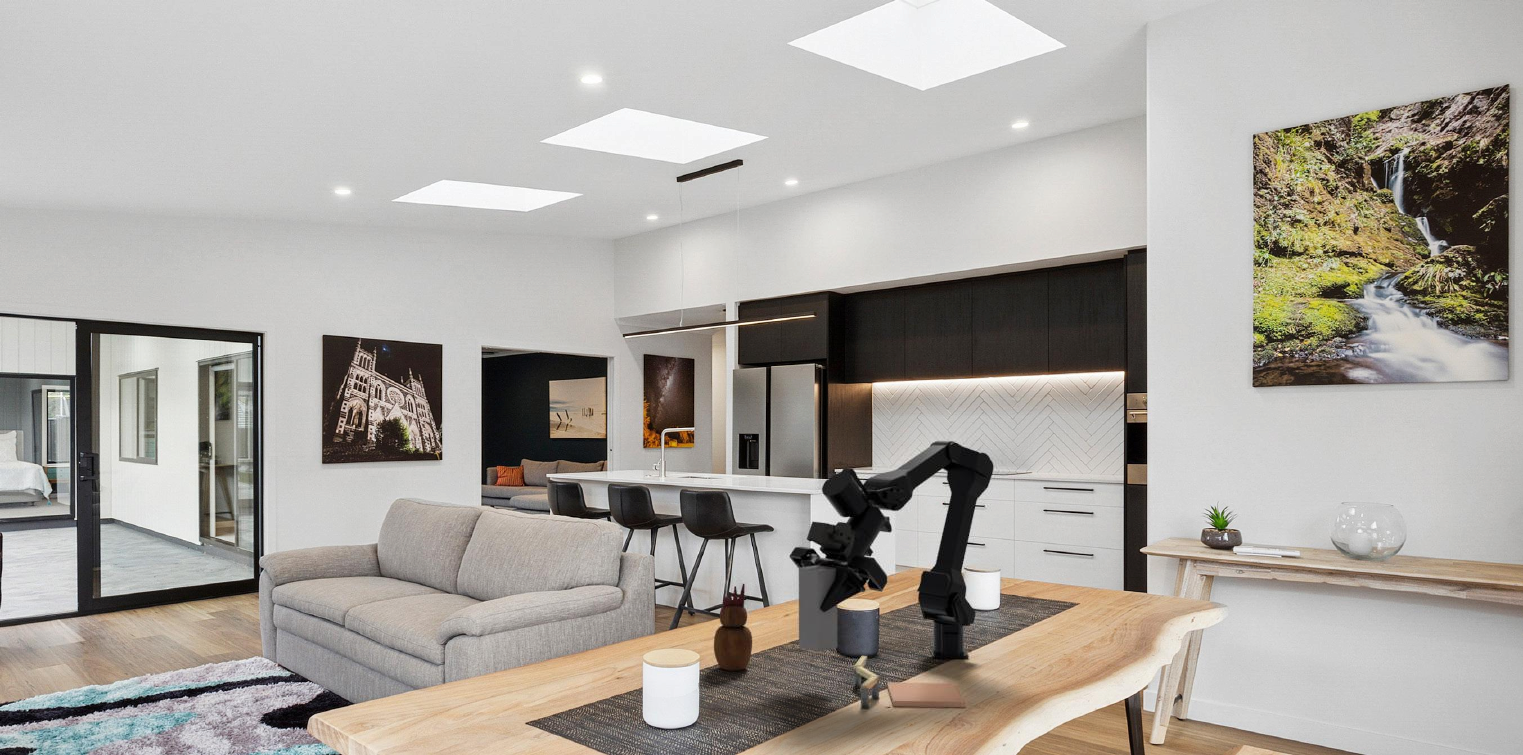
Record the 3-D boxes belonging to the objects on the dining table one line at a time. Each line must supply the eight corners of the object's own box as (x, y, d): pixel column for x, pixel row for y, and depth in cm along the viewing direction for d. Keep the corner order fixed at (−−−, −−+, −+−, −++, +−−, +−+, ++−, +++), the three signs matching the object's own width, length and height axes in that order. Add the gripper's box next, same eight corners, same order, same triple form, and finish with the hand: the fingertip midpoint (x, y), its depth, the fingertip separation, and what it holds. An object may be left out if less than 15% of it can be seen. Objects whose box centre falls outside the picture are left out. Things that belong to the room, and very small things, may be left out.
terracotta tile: (887, 687, 149) (887, 682, 149) (954, 688, 148) (954, 683, 148) (893, 706, 139) (893, 700, 139) (965, 707, 138) (965, 701, 138)
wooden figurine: (756, 666, 162) (756, 582, 162) (745, 674, 156) (745, 587, 157) (721, 663, 164) (721, 580, 165) (709, 671, 158) (709, 585, 159)
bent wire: (851, 675, 156) (851, 655, 156) (873, 676, 155) (873, 655, 156) (857, 708, 137) (857, 685, 138) (882, 709, 137) (881, 686, 137)
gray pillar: (798, 646, 149) (798, 567, 149) (818, 642, 152) (818, 565, 152) (817, 652, 145) (817, 571, 146) (837, 647, 148) (836, 568, 149)
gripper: (797, 500, 159) (749, 569, 152) (875, 508, 145) (826, 585, 137) (829, 541, 164) (784, 610, 156) (907, 552, 150) (862, 629, 142)
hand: (811, 608), depth 148 cm, fingers closed on gray pillar, 4 cm apart
